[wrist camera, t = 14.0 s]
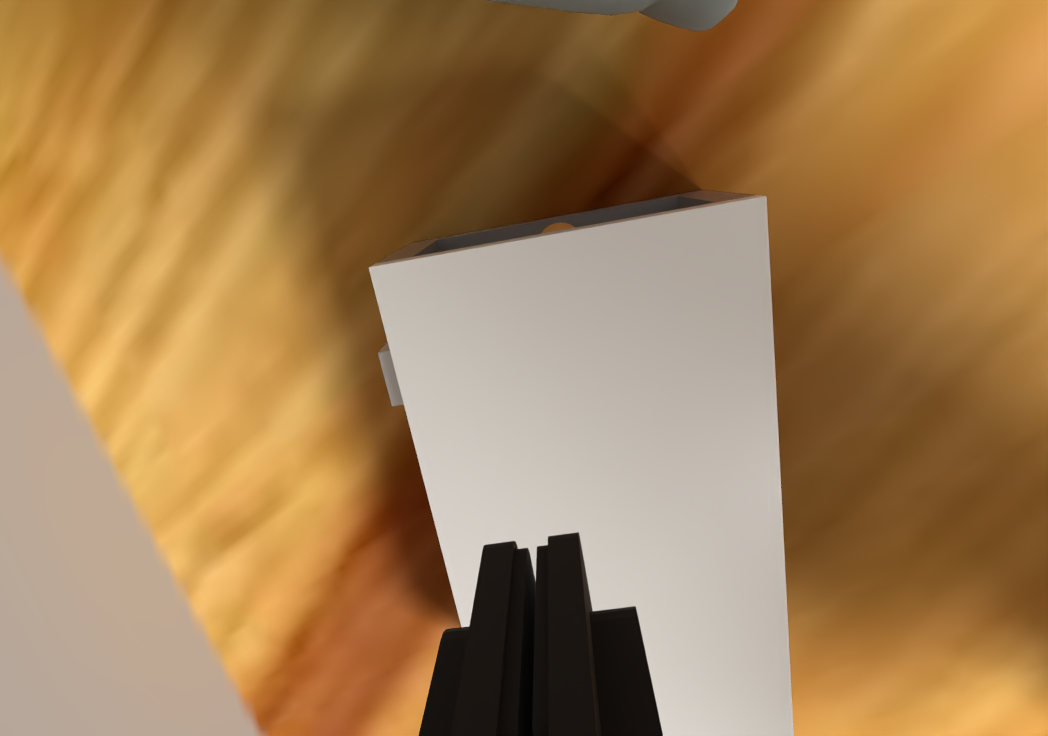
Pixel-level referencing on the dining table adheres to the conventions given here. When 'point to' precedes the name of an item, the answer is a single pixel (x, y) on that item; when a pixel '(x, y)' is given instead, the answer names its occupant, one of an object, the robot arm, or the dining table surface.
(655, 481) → the plate
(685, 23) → the pencil case
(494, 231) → the cable duct
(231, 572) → the dining table surface
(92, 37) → the dining table surface
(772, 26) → the dining table surface
